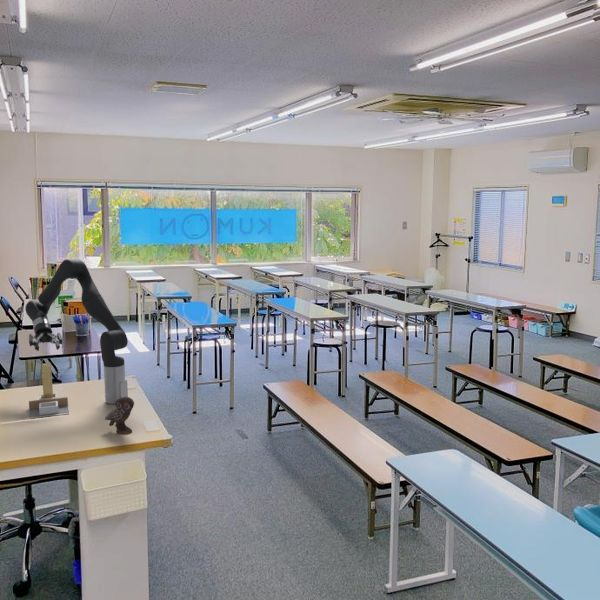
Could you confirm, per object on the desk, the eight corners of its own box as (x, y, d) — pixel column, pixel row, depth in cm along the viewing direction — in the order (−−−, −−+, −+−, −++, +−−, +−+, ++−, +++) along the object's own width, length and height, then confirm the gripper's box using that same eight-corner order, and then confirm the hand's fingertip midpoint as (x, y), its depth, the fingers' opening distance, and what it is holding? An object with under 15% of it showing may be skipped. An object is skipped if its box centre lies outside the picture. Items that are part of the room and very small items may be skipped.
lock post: (44, 401, 288) (41, 363, 285) (53, 400, 290) (50, 362, 287) (44, 404, 284) (41, 365, 282) (53, 403, 286) (50, 364, 283)
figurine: (103, 430, 252) (103, 394, 249) (112, 425, 257) (112, 390, 254) (127, 437, 247) (128, 401, 244) (137, 432, 252) (137, 397, 249)
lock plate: (30, 403, 289) (29, 393, 289) (67, 398, 295) (66, 390, 295) (28, 419, 267) (28, 409, 267) (69, 414, 273) (68, 404, 272)
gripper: (26, 322, 294) (31, 343, 282) (58, 321, 301) (65, 341, 290) (25, 335, 297) (30, 356, 286) (57, 333, 305) (63, 354, 293)
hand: (48, 348), depth 288 cm, fingers open, 8 cm apart
